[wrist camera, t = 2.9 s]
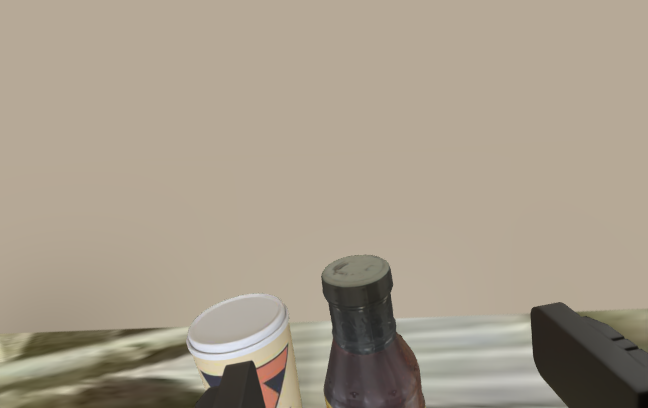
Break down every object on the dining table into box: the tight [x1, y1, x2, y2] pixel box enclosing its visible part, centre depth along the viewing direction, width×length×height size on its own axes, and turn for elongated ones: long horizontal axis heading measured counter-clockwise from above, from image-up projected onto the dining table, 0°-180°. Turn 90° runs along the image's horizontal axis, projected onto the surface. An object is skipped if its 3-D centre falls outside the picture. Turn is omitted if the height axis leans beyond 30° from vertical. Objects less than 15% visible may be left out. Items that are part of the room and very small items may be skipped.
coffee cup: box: [187, 293, 302, 408], centre depth 38 cm, size 9×9×12 cm
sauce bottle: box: [321, 255, 425, 408], centre depth 26 cm, size 7×6×20 cm
